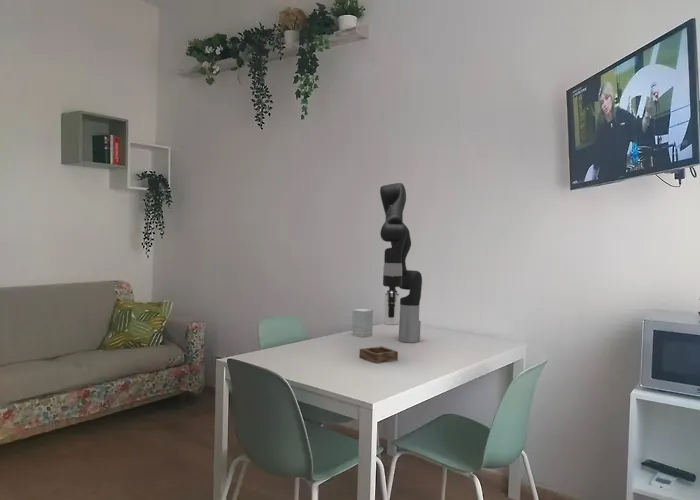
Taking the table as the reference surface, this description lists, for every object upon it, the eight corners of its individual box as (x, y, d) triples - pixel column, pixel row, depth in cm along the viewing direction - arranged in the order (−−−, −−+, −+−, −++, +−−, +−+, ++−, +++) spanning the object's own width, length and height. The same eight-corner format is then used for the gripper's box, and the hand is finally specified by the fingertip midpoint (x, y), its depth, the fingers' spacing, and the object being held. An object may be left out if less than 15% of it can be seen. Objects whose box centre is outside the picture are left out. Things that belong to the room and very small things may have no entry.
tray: (381, 354, 232) (381, 346, 232) (397, 360, 223) (397, 351, 223) (359, 357, 226) (359, 348, 226) (375, 363, 217) (375, 354, 217)
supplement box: (372, 335, 274) (373, 309, 273) (363, 337, 268) (364, 311, 268) (361, 333, 279) (361, 308, 278) (351, 335, 273) (352, 309, 273)
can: (388, 325, 219) (389, 295, 219) (380, 323, 225) (380, 293, 224) (402, 324, 222) (403, 294, 222) (393, 322, 228) (394, 292, 227)
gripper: (383, 272, 230) (382, 312, 231) (382, 275, 216) (381, 318, 217) (402, 273, 229) (400, 313, 230) (402, 276, 215) (400, 319, 216)
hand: (391, 315), depth 223 cm, fingers closed on can, 6 cm apart
